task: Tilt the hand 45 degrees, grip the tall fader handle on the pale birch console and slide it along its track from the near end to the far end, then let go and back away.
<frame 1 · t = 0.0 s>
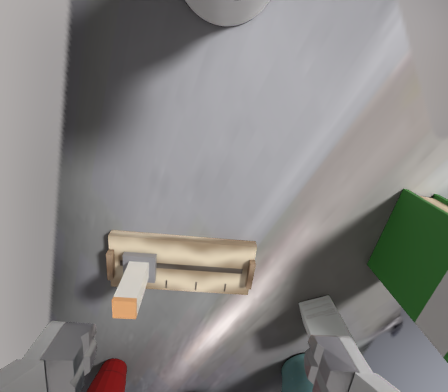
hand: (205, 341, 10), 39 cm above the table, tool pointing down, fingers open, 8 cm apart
flower pot: (303, 367, 71), on the table
plastic cup: (114, 364, 68), on the table
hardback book: (400, 231, 55), on the table
supplement box: (315, 308, 63), on the table
fader console: (183, 260, 56), on the table
fader handle: (133, 285, 48), point 8 cm above the table, slide at -8.0 cm
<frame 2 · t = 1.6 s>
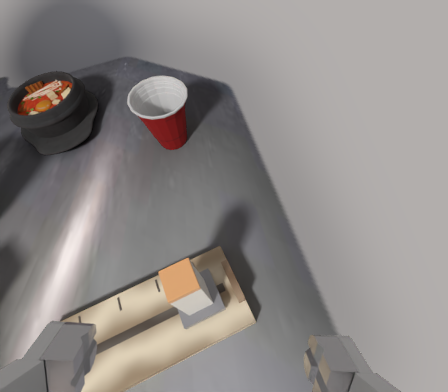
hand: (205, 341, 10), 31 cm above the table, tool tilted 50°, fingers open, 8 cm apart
casserole: (65, 122, 67), on the table
plastic cup: (175, 140, 59), on the table
fader console: (151, 326, 40), on the table
fader handle: (189, 290, 34), point 8 cm above the table, slide at -8.0 cm
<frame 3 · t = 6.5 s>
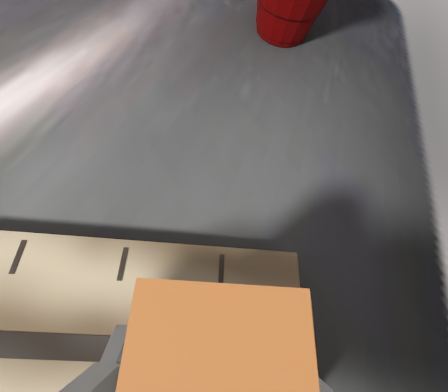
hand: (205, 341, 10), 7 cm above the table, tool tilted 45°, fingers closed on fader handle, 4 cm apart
plastic cup: (280, 35, 33), on the table
fader console: (61, 345, 16), on the table
fader handle: (204, 362, 10), point 8 cm above the table, slide at -8.0 cm, touching gripper
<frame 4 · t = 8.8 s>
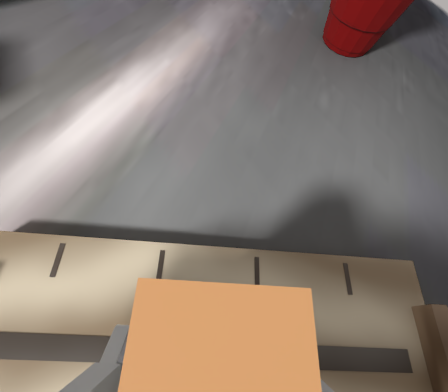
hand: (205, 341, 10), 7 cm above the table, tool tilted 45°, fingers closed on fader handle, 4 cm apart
plastic cup: (345, 44, 33), on the table
fader console: (202, 351, 17), on the table
fader handle: (205, 362, 10), point 8 cm above the table, slide at 0.3 cm, touching gripper
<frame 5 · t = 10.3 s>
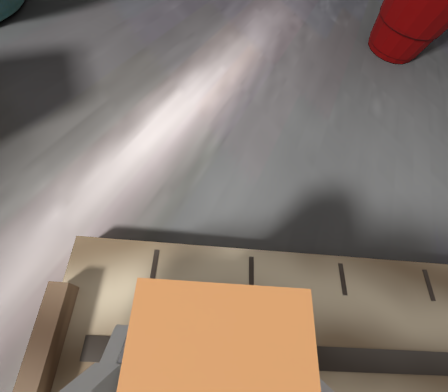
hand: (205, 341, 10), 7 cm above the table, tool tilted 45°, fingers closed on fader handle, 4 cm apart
plastic cup: (390, 51, 34), on the table
fader console: (292, 355, 17), on the table
fader handle: (204, 362, 10), point 8 cm above the table, slide at 5.9 cm, touching gripper
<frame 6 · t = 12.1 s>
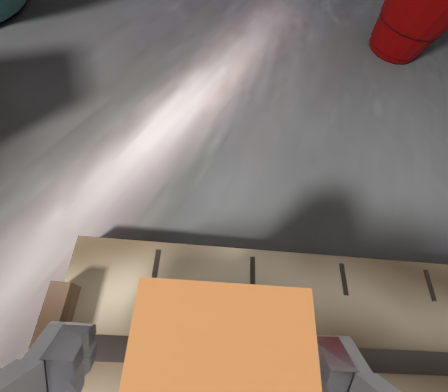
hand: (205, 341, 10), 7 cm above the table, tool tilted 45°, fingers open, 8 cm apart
plastic cup: (391, 51, 34), on the table
fader console: (293, 355, 17), on the table
fader handle: (205, 361, 10), point 8 cm above the table, slide at 6.0 cm
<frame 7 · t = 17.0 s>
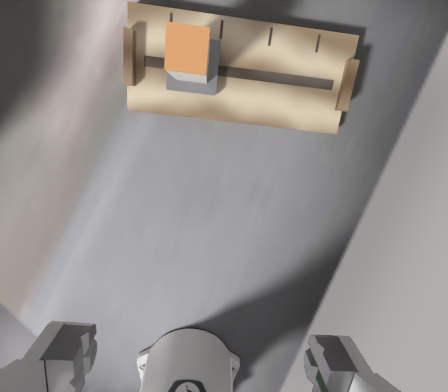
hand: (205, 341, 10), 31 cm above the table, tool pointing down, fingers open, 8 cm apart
fader console: (239, 75, 36), on the table
fader handle: (190, 59, 28), point 8 cm above the table, slide at 6.0 cm
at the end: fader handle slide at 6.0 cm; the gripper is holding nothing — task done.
